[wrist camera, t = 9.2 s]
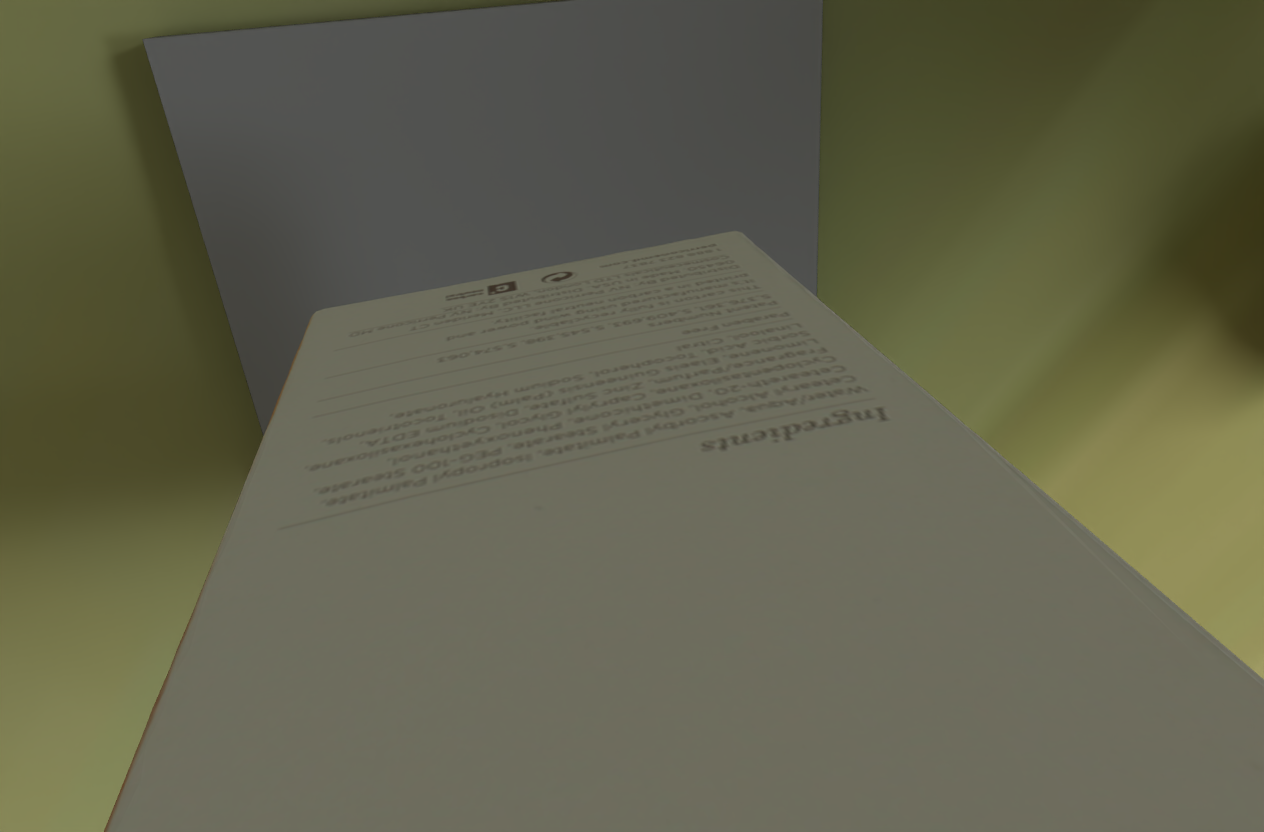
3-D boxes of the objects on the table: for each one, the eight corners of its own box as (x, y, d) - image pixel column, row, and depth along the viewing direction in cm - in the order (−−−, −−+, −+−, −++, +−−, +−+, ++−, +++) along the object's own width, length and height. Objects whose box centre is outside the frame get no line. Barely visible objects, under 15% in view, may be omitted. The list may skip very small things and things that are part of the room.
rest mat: (806, -22, 20) (823, -22, 19) (799, 500, 26) (812, 518, 25) (157, 36, 18) (141, 39, 17) (319, 581, 24) (314, 603, 23)
